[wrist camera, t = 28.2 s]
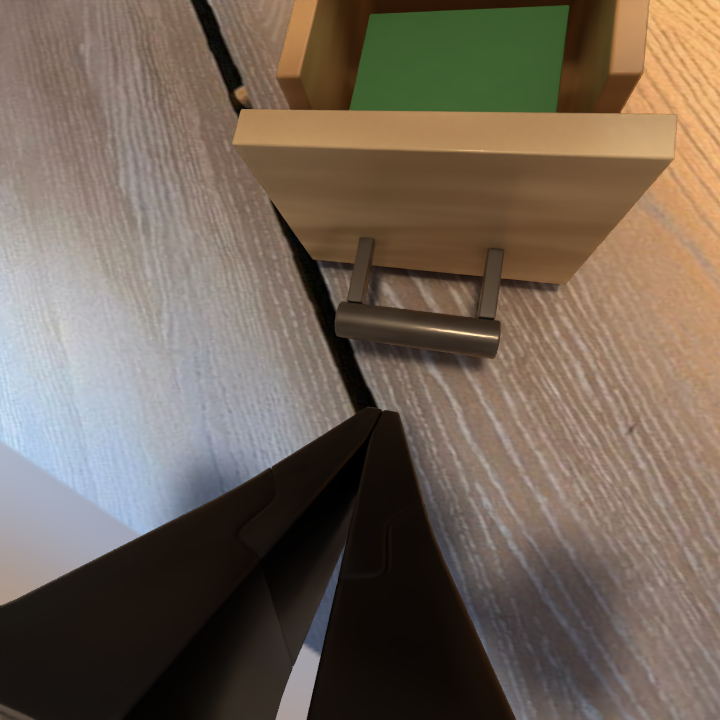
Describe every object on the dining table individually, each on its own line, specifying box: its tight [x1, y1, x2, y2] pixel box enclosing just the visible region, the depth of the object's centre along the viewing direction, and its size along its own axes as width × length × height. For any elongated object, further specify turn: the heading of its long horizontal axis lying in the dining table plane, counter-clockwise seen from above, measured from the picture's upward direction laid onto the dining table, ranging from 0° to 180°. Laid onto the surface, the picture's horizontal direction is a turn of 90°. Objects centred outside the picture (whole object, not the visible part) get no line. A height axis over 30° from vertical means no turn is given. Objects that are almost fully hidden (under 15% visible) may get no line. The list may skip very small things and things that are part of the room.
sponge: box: [349, 5, 569, 113], centre depth 15 cm, size 4×7×4 cm, turn 79°
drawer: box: [232, 0, 677, 359], centre depth 14 cm, size 17×11×8 cm
